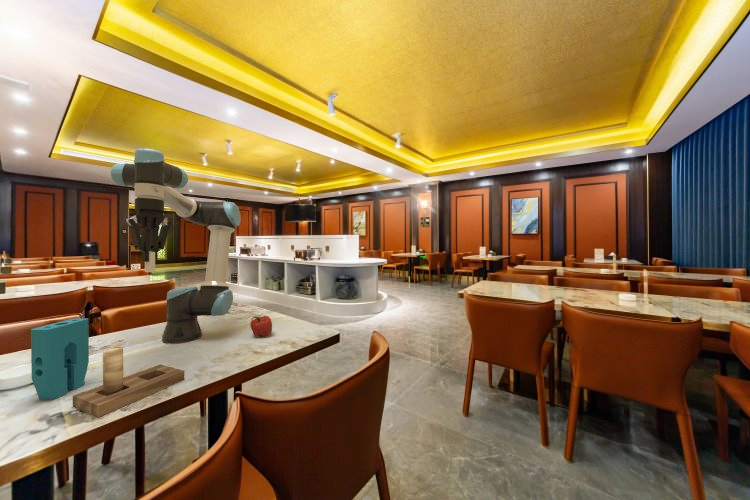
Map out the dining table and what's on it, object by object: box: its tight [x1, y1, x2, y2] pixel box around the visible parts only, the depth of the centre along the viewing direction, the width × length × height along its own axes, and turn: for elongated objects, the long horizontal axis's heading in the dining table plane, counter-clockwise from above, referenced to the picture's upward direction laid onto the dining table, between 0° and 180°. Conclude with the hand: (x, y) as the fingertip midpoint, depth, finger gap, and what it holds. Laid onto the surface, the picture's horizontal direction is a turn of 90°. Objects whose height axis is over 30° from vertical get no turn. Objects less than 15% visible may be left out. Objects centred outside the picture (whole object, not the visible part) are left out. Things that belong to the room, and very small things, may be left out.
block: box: [30, 317, 90, 401], centre depth 85 cm, size 12×5×20 cm, turn 1°
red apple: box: [249, 315, 273, 338], centre depth 138 cm, size 11×10×10 cm
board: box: [72, 363, 185, 418], centre depth 86 cm, size 12×22×3 cm, turn 158°
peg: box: [102, 347, 124, 396], centre depth 81 cm, size 4×4×14 cm
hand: (149, 271), depth 94 cm, fingers closed
